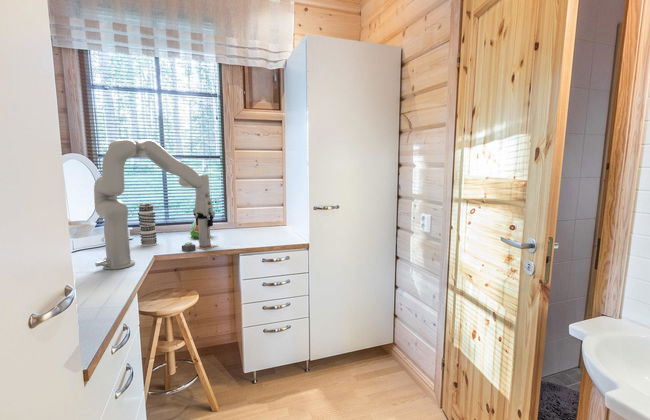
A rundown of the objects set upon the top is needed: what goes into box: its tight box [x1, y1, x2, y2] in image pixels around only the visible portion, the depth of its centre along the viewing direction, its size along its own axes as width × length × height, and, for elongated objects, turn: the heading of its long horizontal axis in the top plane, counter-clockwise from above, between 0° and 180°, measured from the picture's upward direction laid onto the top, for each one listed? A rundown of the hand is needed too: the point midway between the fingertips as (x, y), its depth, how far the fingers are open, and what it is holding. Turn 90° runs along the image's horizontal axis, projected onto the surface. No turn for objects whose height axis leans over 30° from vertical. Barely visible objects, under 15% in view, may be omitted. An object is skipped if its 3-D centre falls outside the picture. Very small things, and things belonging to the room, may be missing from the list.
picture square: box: [195, 244, 218, 251], centre depth 194 cm, size 10×10×1 cm
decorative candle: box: [137, 202, 158, 247], centre depth 199 cm, size 9×9×25 cm
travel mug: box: [197, 213, 212, 248], centre depth 193 cm, size 6×7×20 cm
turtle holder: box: [189, 218, 199, 240], centre depth 221 cm, size 12×18×12 cm
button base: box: [181, 243, 196, 253], centre depth 186 cm, size 5×5×3 cm
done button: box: [184, 241, 193, 246], centre depth 186 cm, size 4×4×2 cm
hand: (204, 225), depth 192 cm, fingers open, 9 cm apart
